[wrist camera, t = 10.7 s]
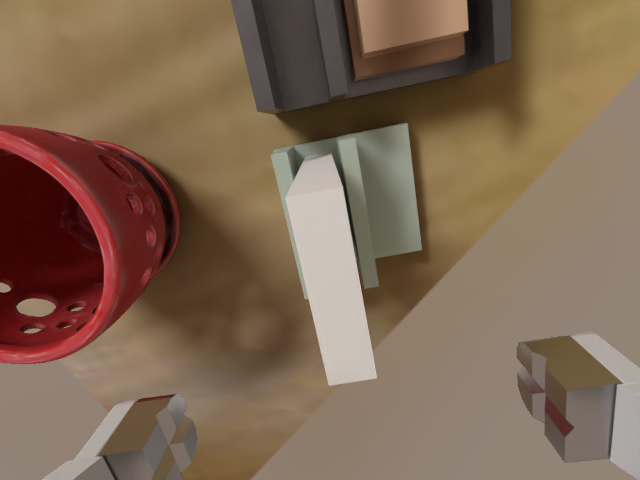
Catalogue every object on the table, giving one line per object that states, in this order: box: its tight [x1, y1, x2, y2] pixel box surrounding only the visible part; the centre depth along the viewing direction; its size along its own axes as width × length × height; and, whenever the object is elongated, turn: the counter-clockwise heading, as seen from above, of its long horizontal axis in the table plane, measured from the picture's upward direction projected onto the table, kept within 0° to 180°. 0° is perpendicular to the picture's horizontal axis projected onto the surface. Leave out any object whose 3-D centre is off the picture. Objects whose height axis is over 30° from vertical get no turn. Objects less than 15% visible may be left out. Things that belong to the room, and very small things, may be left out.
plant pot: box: [0, 125, 181, 364], centre depth 23 cm, size 13×13×12 cm
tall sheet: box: [285, 152, 377, 386], centre depth 20 cm, size 2×8×15 cm, turn 11°
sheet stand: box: [271, 123, 422, 299], centre depth 26 cm, size 10×10×6 cm
